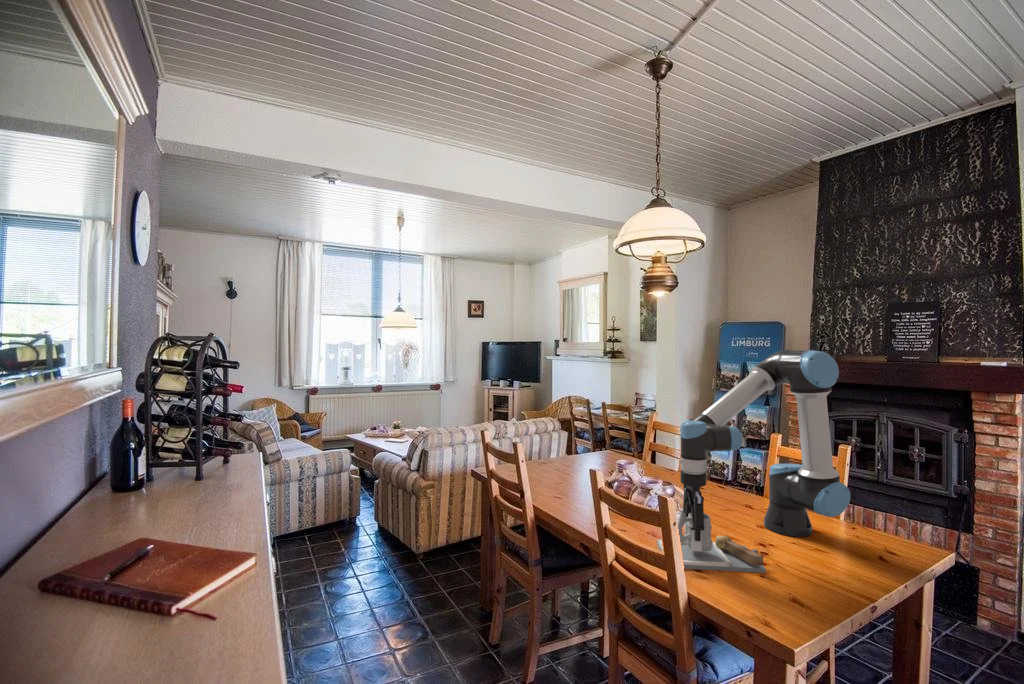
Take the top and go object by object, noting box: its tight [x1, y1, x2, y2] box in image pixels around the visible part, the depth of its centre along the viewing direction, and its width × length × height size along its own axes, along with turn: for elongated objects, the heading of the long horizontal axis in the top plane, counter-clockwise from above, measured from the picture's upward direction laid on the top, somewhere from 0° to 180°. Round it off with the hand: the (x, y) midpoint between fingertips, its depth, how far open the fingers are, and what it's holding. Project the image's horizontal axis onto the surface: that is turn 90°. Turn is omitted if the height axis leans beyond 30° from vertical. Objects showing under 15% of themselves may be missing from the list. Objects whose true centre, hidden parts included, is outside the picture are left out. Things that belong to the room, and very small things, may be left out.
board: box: [655, 538, 767, 574], centre depth 149 cm, size 28×16×4 cm, turn 84°
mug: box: [677, 509, 714, 552], centre depth 149 cm, size 8×12×12 cm, turn 102°
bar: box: [715, 535, 764, 566], centre depth 147 cm, size 16×4×2 cm, turn 20°
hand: (692, 544), depth 149 cm, fingers closed on mug, 7 cm apart
